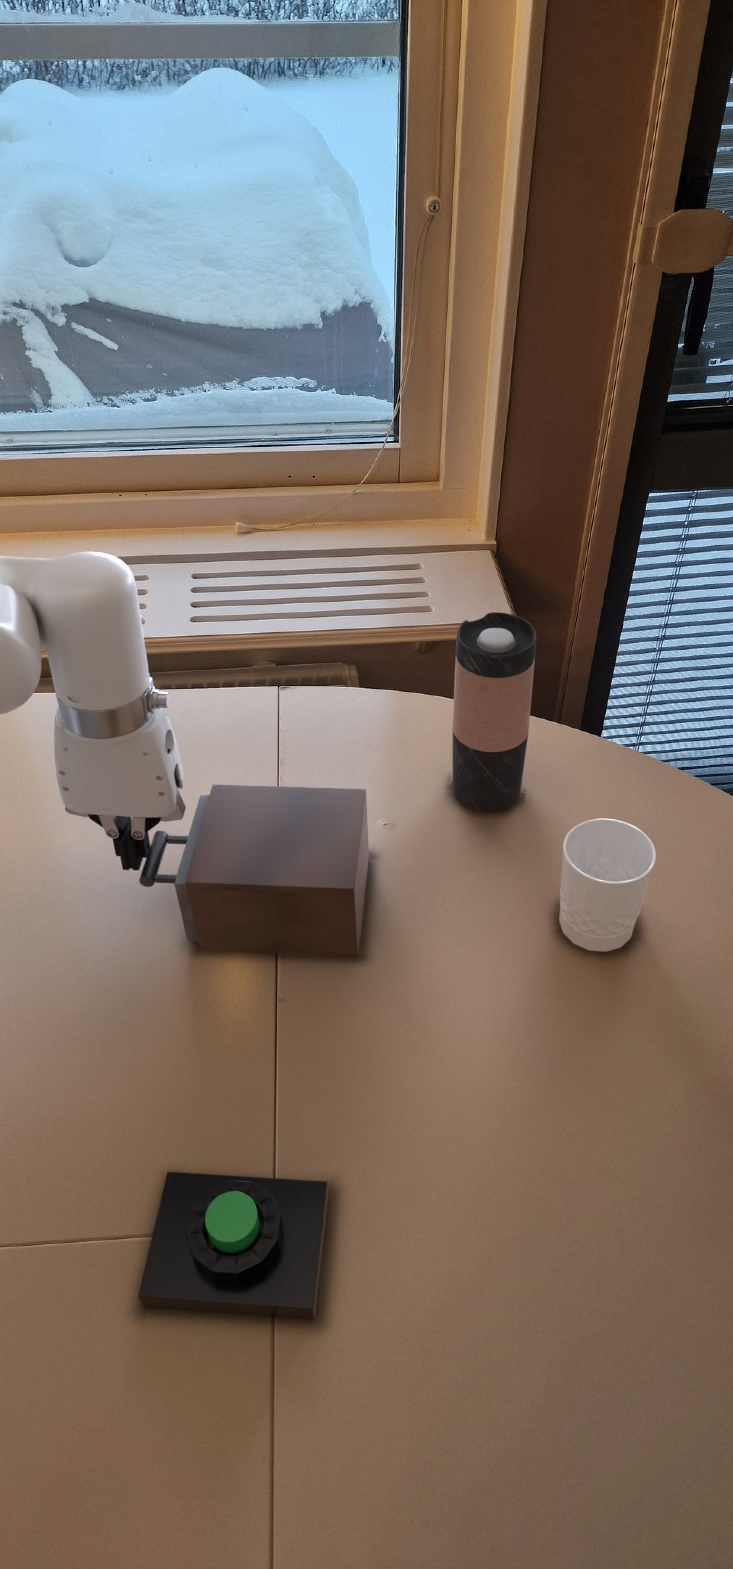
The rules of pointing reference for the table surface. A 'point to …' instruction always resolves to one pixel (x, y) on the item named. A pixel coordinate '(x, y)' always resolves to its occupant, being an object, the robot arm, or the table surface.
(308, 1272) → the control block
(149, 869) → the drawer
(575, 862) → the white cup
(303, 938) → the cabinet
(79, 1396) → the table surface
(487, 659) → the travel mug
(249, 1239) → the button
